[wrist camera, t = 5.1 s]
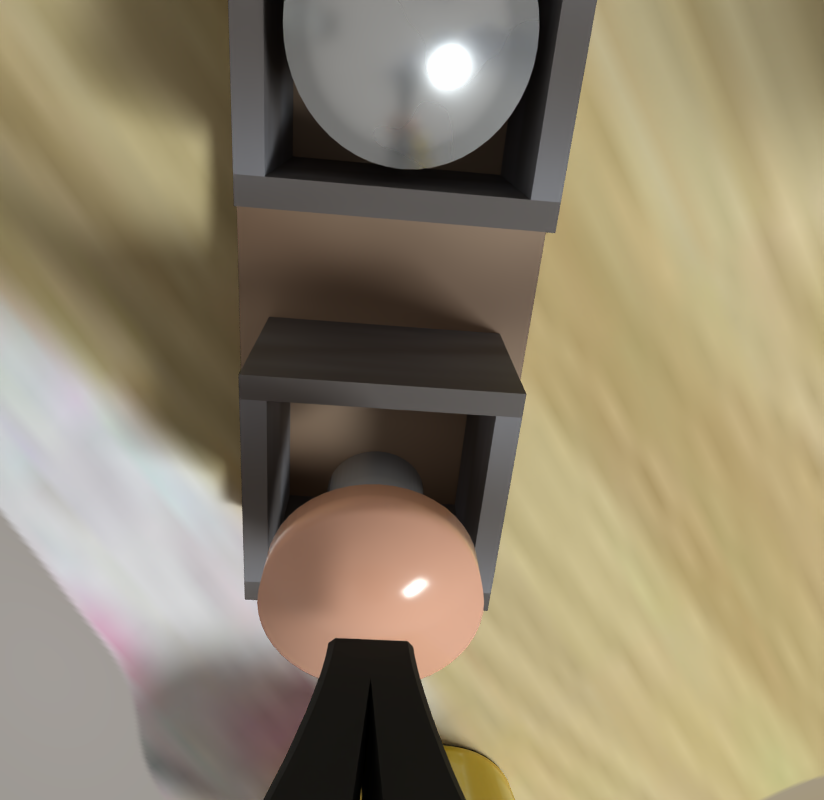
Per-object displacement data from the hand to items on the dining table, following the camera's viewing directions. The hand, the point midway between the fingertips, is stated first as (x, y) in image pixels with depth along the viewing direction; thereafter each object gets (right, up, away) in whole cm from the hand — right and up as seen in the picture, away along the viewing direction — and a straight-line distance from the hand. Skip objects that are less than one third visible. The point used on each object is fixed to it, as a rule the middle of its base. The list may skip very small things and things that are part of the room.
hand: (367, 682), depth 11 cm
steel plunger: (+1, +13, +4) cm, 13 cm away
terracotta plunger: (0, +2, +5) cm, 6 cm away
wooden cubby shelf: (0, +9, +7) cm, 11 cm away
